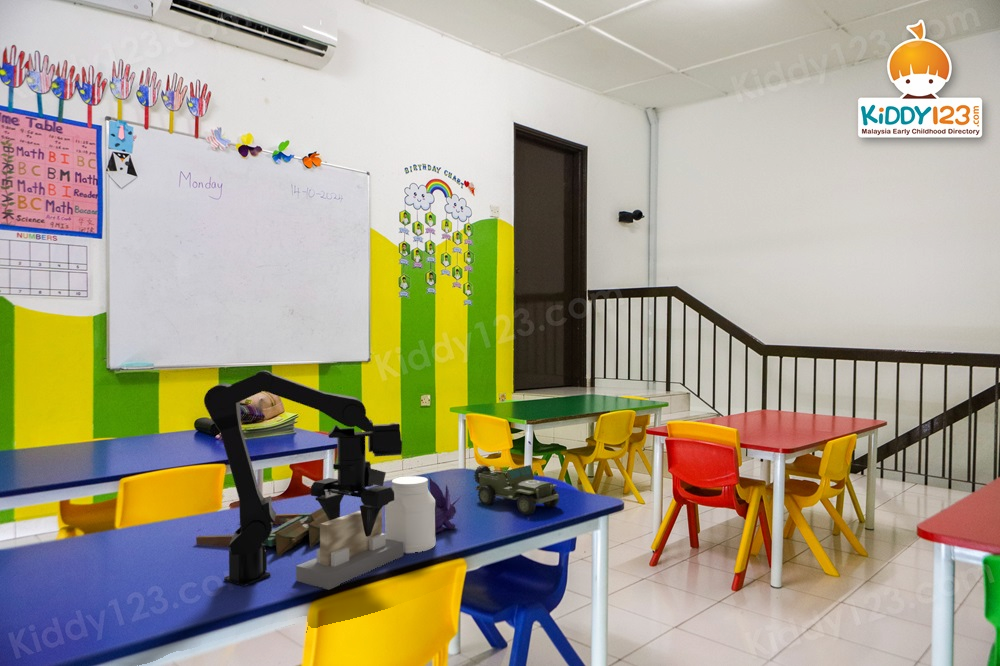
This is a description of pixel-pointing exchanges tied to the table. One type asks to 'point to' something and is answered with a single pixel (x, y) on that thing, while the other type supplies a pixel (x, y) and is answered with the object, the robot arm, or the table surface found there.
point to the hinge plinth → (349, 563)
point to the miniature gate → (281, 531)
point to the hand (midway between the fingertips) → (352, 532)
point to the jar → (411, 514)
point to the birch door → (346, 535)
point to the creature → (442, 507)
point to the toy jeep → (515, 488)
